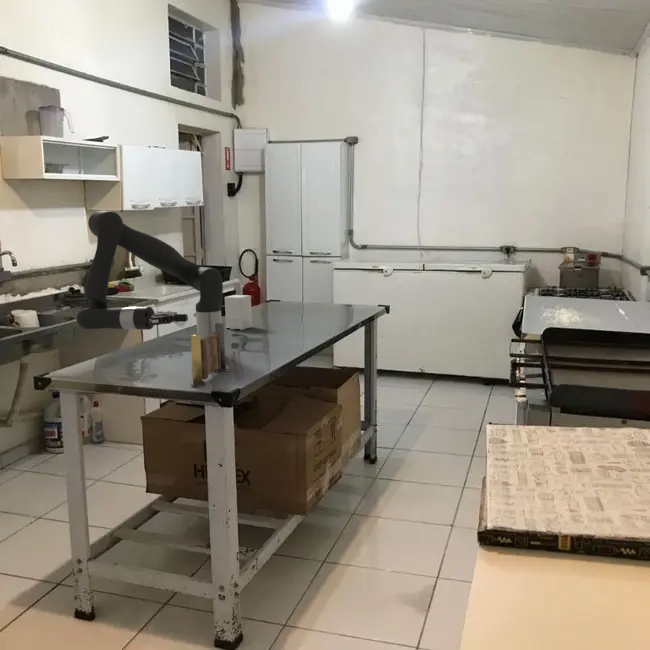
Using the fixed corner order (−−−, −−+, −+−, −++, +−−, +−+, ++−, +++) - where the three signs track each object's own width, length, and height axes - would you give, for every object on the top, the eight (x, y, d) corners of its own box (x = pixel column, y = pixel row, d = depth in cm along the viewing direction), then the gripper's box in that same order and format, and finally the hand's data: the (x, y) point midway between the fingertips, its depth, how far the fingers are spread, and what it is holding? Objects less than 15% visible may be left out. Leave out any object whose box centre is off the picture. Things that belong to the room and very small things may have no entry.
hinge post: (213, 368, 239) (210, 323, 237) (228, 367, 240) (226, 322, 238) (214, 372, 234) (212, 325, 232) (229, 371, 235) (227, 324, 233)
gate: (215, 367, 235) (213, 331, 233) (222, 368, 235) (220, 331, 233) (196, 380, 219) (194, 340, 217) (203, 380, 218) (201, 341, 216)
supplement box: (252, 327, 322) (251, 295, 320) (241, 330, 314) (240, 297, 312) (236, 326, 326) (235, 294, 324) (225, 329, 319) (224, 296, 316)
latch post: (191, 384, 219) (188, 334, 216) (203, 383, 219) (201, 333, 217) (191, 387, 215) (188, 336, 212) (204, 386, 216) (202, 335, 213)
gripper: (126, 310, 221) (177, 309, 217) (145, 303, 233) (193, 303, 230) (128, 333, 222) (179, 333, 218) (147, 325, 235) (195, 325, 231)
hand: (186, 317), depth 224 cm, fingers closed
